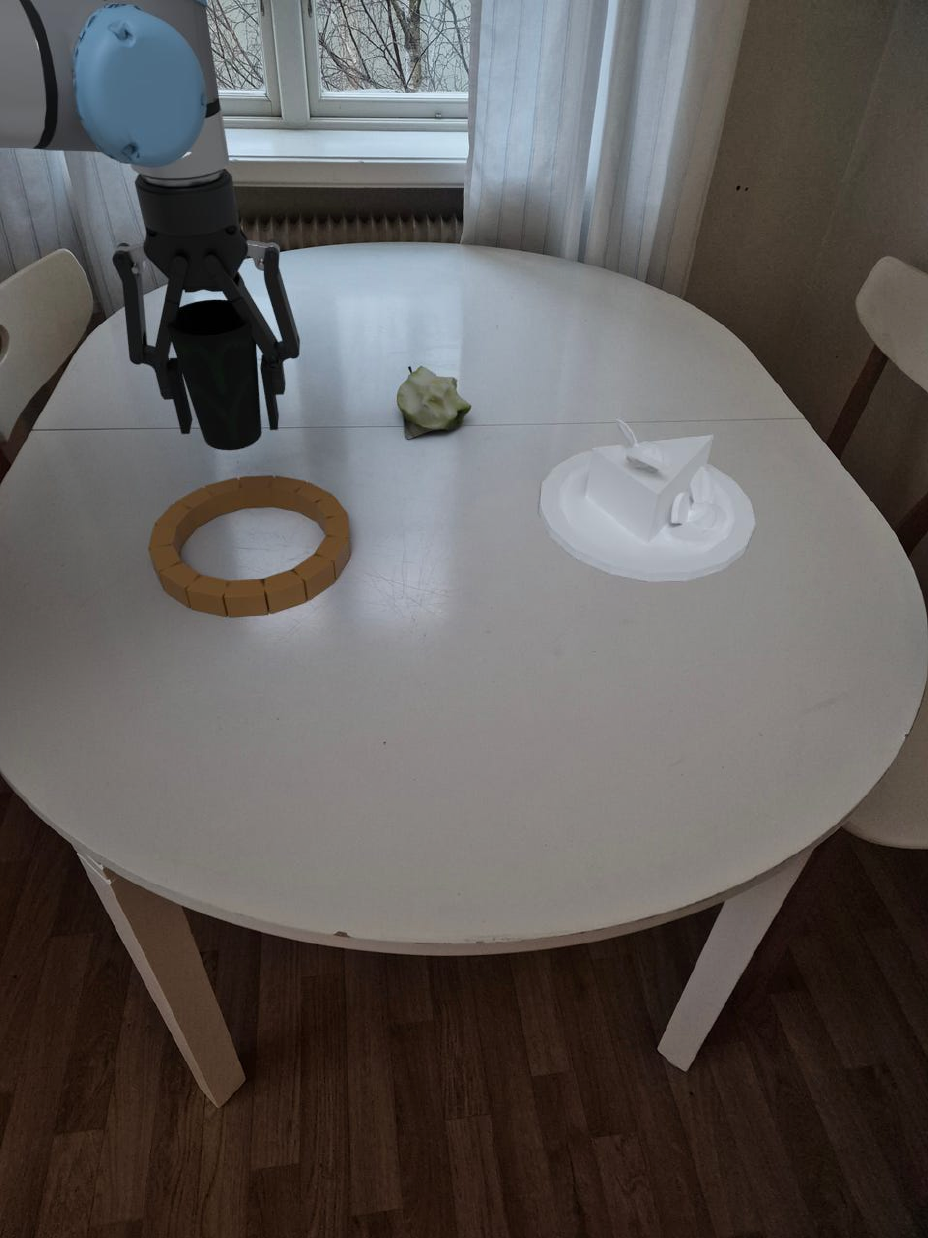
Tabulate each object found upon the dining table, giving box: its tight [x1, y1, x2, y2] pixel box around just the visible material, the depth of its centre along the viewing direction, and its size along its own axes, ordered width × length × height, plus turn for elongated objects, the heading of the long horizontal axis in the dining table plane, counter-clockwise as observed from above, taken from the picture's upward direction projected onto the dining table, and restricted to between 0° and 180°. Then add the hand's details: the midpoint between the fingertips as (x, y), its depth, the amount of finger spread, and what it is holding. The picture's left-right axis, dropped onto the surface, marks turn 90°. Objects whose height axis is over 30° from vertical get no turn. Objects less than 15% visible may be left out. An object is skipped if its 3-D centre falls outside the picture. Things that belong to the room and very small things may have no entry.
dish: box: [538, 418, 756, 583], centre depth 97 cm, size 25×25×11 cm
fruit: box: [396, 365, 472, 441], centre depth 113 cm, size 9×9×8 cm
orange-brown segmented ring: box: [148, 474, 352, 618], centre depth 94 cm, size 21×21×3 cm
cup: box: [167, 299, 263, 451], centre depth 80 cm, size 8×8×12 cm
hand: (230, 424), depth 84 cm, fingers closed on cup, 8 cm apart
